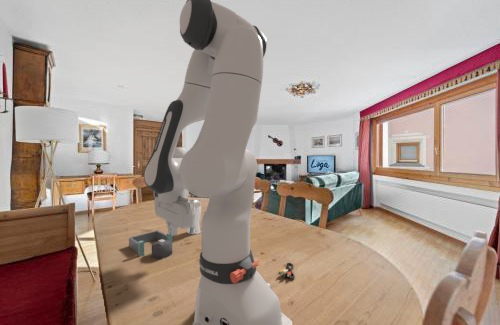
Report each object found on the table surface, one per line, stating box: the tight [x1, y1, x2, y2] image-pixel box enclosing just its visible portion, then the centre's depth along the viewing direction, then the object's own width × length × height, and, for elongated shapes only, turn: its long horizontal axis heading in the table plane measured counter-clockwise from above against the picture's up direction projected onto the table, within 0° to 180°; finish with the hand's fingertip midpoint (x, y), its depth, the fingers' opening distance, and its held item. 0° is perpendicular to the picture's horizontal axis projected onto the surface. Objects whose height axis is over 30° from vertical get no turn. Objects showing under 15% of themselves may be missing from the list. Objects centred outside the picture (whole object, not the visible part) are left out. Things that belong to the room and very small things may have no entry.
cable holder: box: [128, 230, 173, 257], centre depth 85 cm, size 12×12×5 cm
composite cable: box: [276, 262, 296, 281], centre depth 66 cm, size 10×5×2 cm, turn 152°
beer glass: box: [186, 199, 202, 235], centre depth 100 cm, size 7×7×15 cm
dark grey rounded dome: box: [151, 239, 173, 260], centre depth 78 cm, size 7×7×5 cm
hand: (172, 234), depth 73 cm, fingers closed
